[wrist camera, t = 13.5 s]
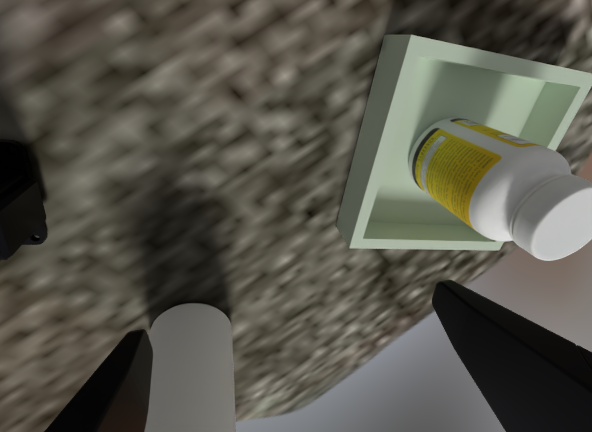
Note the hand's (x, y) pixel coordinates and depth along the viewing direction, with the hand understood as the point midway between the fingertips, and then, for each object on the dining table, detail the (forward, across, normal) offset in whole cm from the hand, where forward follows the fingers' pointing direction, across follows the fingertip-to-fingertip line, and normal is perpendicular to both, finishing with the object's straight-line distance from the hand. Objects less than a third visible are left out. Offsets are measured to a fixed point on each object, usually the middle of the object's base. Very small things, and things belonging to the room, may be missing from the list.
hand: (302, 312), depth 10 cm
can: (+13, +7, +14) cm, 20 cm away
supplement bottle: (+13, -13, 0) cm, 18 cm away
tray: (+13, -13, 0) cm, 18 cm away
